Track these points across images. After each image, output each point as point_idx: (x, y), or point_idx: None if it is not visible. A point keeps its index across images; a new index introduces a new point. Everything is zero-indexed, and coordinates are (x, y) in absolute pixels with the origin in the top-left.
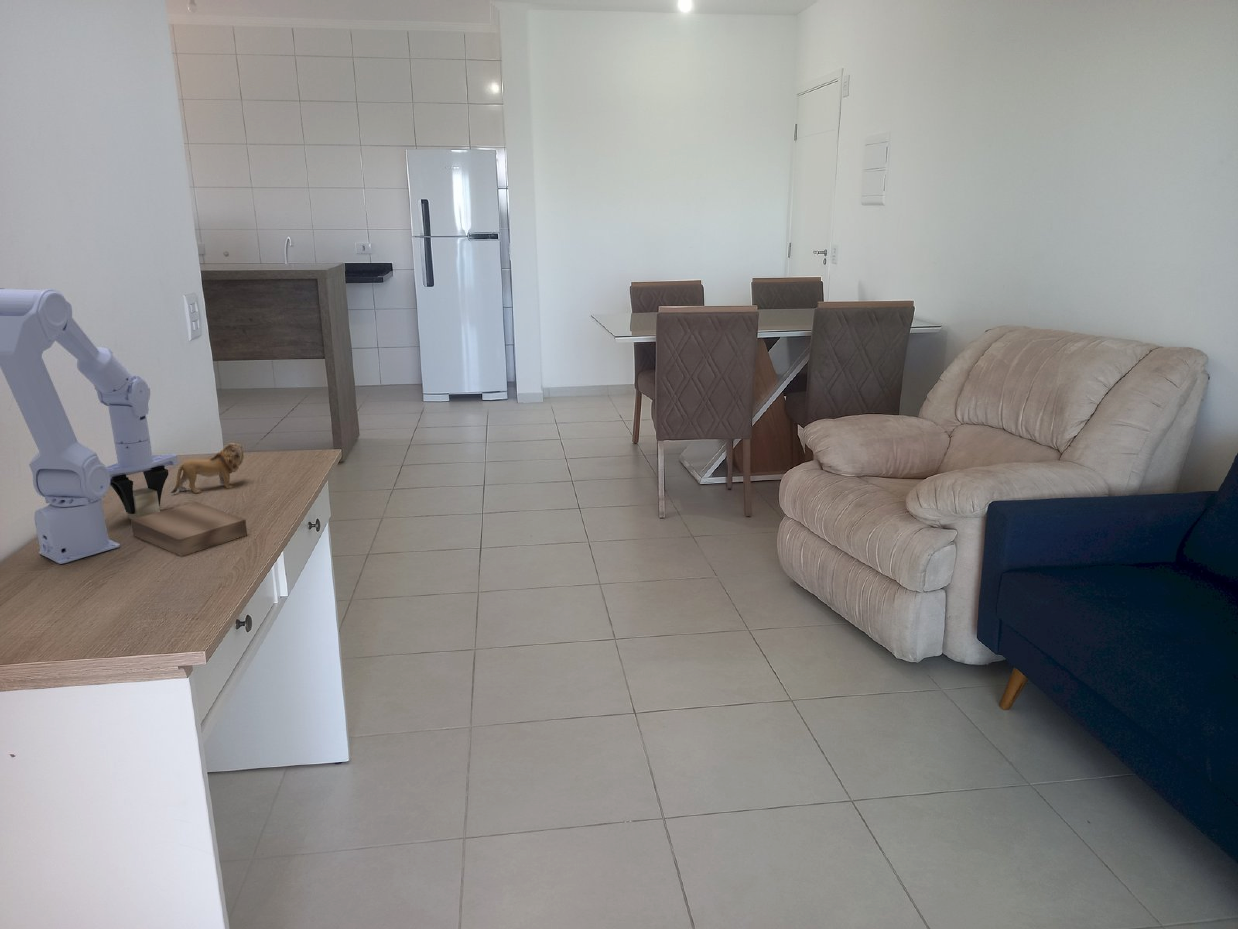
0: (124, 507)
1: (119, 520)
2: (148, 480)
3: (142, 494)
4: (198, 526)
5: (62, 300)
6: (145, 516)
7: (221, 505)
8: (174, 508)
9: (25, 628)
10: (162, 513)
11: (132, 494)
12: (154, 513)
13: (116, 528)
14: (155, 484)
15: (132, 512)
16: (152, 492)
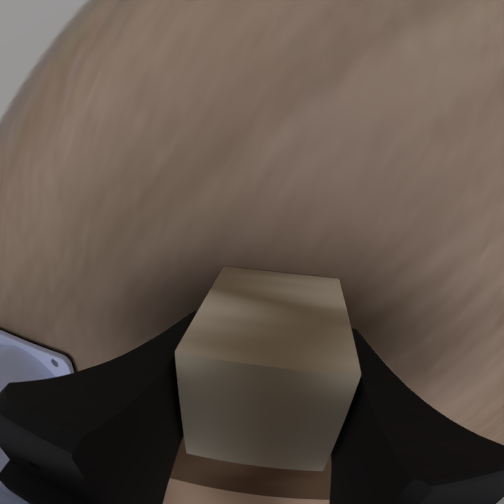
0: (181, 320)
1: (179, 262)
2: (363, 459)
3: (237, 458)
4: None
5: None
6: (175, 482)
7: (483, 415)
8: (285, 500)
9: None
10: (228, 500)
11: (173, 458)
12: (210, 488)
13: (133, 337)
14: (334, 497)
15: None
16: (295, 469)
